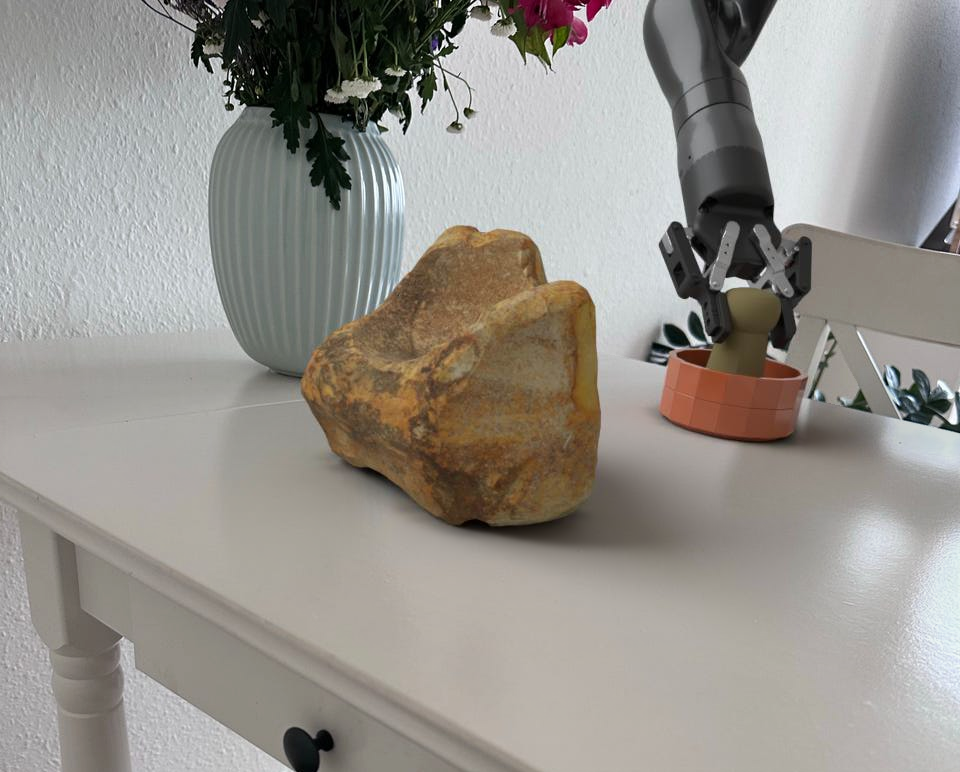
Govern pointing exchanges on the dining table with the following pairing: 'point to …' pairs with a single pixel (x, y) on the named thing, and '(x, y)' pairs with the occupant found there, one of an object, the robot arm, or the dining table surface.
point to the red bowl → (731, 398)
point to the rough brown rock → (469, 384)
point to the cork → (746, 332)
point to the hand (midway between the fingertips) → (753, 340)
